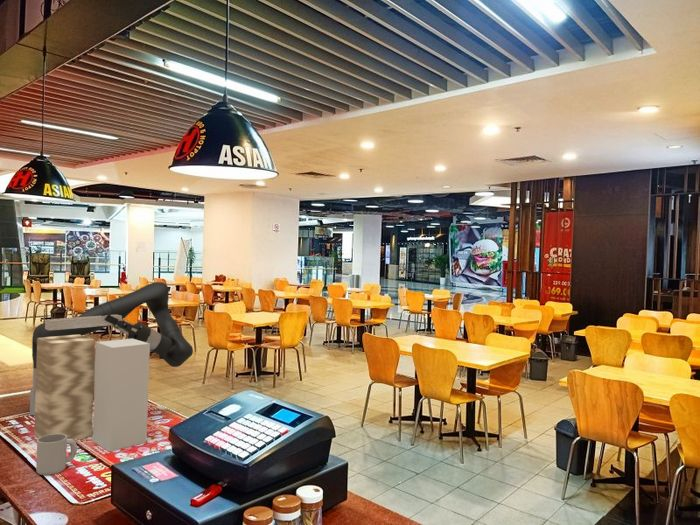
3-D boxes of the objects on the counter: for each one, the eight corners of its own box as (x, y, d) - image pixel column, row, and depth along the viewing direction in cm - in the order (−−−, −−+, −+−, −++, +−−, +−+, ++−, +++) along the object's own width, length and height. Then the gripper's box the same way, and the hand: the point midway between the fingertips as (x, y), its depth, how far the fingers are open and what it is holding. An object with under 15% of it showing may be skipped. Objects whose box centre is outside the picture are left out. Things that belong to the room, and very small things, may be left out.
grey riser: (109, 451, 159) (112, 347, 158) (92, 441, 166) (95, 342, 166) (146, 442, 167) (149, 343, 167) (129, 432, 175) (132, 338, 175)
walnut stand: (48, 446, 161) (51, 343, 160) (34, 435, 170) (37, 337, 169) (91, 436, 171) (94, 339, 170) (76, 426, 179) (79, 334, 179)
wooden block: (49, 330, 164) (49, 321, 164) (45, 328, 166) (45, 319, 166) (121, 324, 181) (121, 315, 181) (116, 322, 184) (116, 314, 184)
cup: (33, 468, 145) (34, 437, 145) (73, 460, 151) (74, 430, 151) (38, 477, 139) (39, 444, 139) (79, 468, 146) (80, 437, 146)
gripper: (140, 325, 196) (100, 304, 184) (159, 330, 186) (118, 308, 175) (130, 343, 193) (89, 323, 182) (148, 349, 183) (106, 329, 172)
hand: (103, 316), depth 178 cm, fingers closed on wooden block, 4 cm apart
